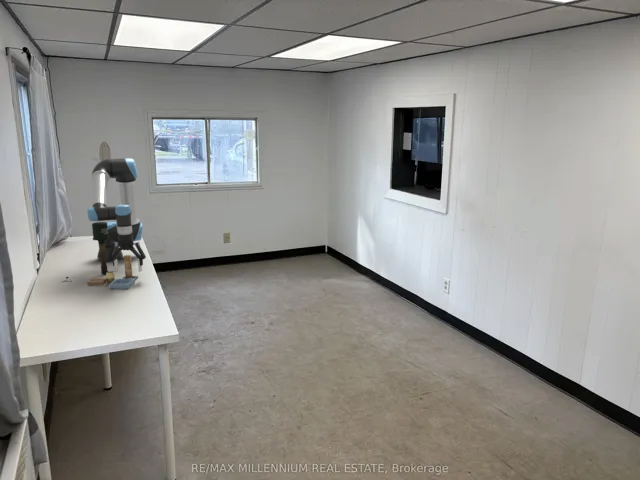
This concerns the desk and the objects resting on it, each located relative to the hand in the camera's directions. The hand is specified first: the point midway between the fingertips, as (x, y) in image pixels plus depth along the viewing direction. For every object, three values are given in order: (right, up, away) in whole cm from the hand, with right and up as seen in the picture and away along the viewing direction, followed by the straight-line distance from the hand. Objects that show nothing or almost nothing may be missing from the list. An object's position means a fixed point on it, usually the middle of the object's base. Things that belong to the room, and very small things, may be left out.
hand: (128, 271), depth 264 cm
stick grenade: (-18, -3, +11) cm, 22 cm away
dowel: (0, -5, +1) cm, 5 cm away
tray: (0, -7, -9) cm, 11 cm away
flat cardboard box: (-15, -7, -4) cm, 17 cm away
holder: (0, -5, +1) cm, 5 cm away
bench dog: (-8, -6, -4) cm, 11 cm away
